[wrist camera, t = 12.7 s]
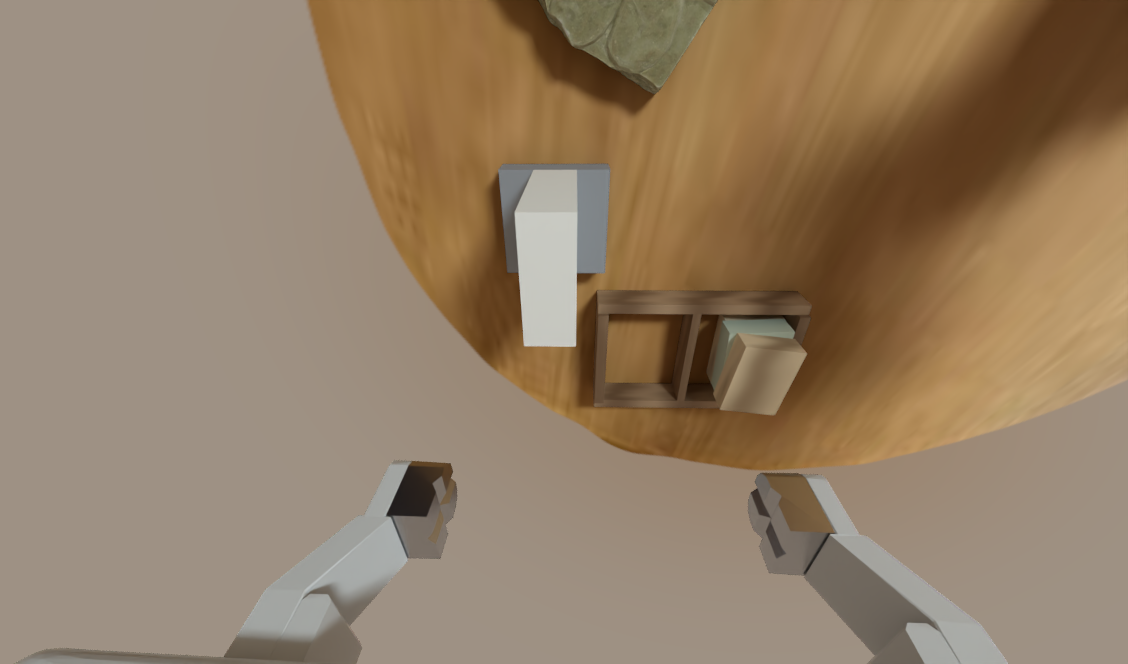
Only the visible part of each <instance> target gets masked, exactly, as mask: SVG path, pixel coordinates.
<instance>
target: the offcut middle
mask: <svg viewBox="0 0 1128 664" xmlns="http://www.w3.org/2000/svg"><path fill="white" fill-rule="evenodd" d="M737 333H745V334H754V335H763V336H772V337H781V338H790V339H793V337H794V334H795V331H794V330H793V329H792V328H791V326H790V325H789V324H788V323H787V322H786V320H785V319H764V320H729V321H722V325H721V331H720V336H719V342H718V348H717V353H716V359H715V364H714V370H713V376H712V381H711V384H712V386H713V389H714V390H715V387H716V385H717V382H718V380H719V377H720V375H721V372H722V370H723V367H724V365H725V362H726V360H727V357H728V355H729V352H730V350H731V347H732V345H733V342H734V340H735V337H736V335H737Z"/></svg>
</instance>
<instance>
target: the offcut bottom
mask: <svg viewBox="0 0 1128 664" xmlns="http://www.w3.org/2000/svg"><path fill="white" fill-rule="evenodd" d="M764 319H785V318H784V317H783V316H782V315H727V314H719V317H718V322H717V326H716V330H715V335H714V339H713V344H712V348H711V353H710V357H709V362H708V366H707V370H706V373H707V376H708V378H709V380H710V383H711V381H712V376H713V370H714V364H715V359H716V353H717V348H718V342H719V336H720V331H721V325H722V321H729V320H764ZM786 322H787V321H786Z"/></svg>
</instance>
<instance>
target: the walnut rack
mask: <svg viewBox="0 0 1128 664" xmlns="http://www.w3.org/2000/svg"><path fill="white" fill-rule="evenodd" d="M811 308H812V305H811V304H810V303H809V302H808V301H807V300H806V299H805V298H804V297H803V296H802V295H801V294H800V293H799V292H798V291H625V290H597V303H596V328H595V352H594V377H593V399H594V407H650V408H719V407H718V405H717V402H716V400H715V397H714V395H713V392H714V389H713V386H712V384H688V380H689V375H690V370H691V365H692V360H693V355H694V350H695V345H696V340H697V335H698V330H699V325H700V320H701V315H702V314H727V315H782V316H783V317H784V318H785V320H786V321H787V323H788V324H789V325H790V326H791V328H792V329H793V330H794V331H795V334H794V337H793V339H796V341H797V342H798V343H799V344H800V345H801V344H802V342H803V339H804V336H805V334H806V331H807V328H808V325H809V323H810V320H811V317H810V316H809V313H810V310H811ZM609 314H684V315H683V320H682V326H681V332H680V338H679V343H678V349H677V355H676V361H675V367H674V372H673V378H672V384H665V383H605V371H606V354H607V337H608V321H609Z"/></svg>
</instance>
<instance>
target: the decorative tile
mask: <svg viewBox="0 0 1128 664" xmlns="http://www.w3.org/2000/svg"><path fill="white" fill-rule="evenodd" d="M538 1H539V2H540V4H541V6H542V7H543V9H544V12H545V14H546V16H547V18H548V20H549V21H550V22H551V23H552V24H553V25H554V26H556V27H558V28H559V29H560V30H561V31H562V32H563V34H564V36H565V37H566V38H567V40H568V42H569V43H570V44H571V45H572V46H573V47H575V48H577V49H579V50H584V51H586V52H587V53H589V54H591V55H592V56H594V57H595V58H597V59H599V60H601V61H602V62H603V63H605V64H606V65H607V66H608V67H610V68H612V69H615V70H617V71H618V72H621V73H622V75H624V76H626V77H627V78H628V79H630V80H631V81H634V82H635V83H636V84H638V85H640V86H641V87H642V88H643V89H645V90H647V91H649V92H651V93H653V94H655V93H657V92H658V91H659V90H660V89H661V88H662V86H663V85H664V83H665V82H666V80H667V79H668V77H669V76H670V74H671V73H672V71H673V70H674V68H675V67H676V65H677V63H678V62H679V60H680V59H681V57H682V55H683V54H684V52H685V51H686V49H687V48H688V46H689V45H690V43H691V41H692V40H693V38H694V37H695V35H696V33H697V32H698V30H699V29H700V27H701V25H702V24H703V22H704V21H705V19H706V18H707V16H708V15H709V13H710V12H711V10H712V9H713V7H714V5H715V4H716V2H717V1H718V0H538Z"/></svg>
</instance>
